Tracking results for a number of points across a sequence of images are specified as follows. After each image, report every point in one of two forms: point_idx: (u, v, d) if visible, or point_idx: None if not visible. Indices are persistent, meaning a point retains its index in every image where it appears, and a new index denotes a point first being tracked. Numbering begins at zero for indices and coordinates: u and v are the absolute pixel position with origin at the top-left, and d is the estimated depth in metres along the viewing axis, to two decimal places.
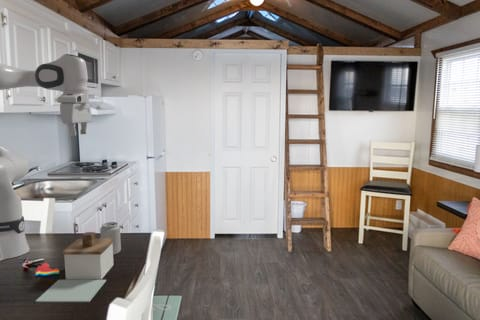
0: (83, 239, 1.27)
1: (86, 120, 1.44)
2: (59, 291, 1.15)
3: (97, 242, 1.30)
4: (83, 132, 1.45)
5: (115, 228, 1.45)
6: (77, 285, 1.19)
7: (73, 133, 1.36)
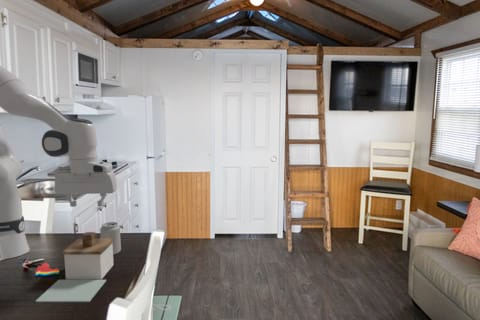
0: (83, 239, 1.27)
1: None
2: (59, 291, 1.15)
3: (97, 242, 1.30)
4: (75, 203, 1.27)
5: (115, 228, 1.45)
6: (77, 285, 1.19)
7: (103, 203, 1.27)
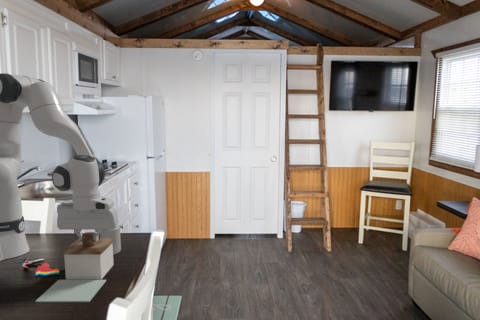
0: (83, 239, 1.27)
1: None
2: (59, 291, 1.15)
3: (97, 242, 1.30)
4: None
5: (115, 228, 1.45)
6: (77, 285, 1.19)
7: (97, 238, 1.29)
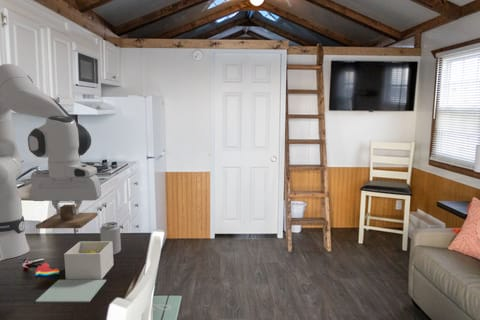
0: (61, 212, 1.11)
1: None
2: (59, 291, 1.15)
3: (78, 216, 1.15)
4: None
5: (115, 228, 1.45)
6: (77, 285, 1.19)
7: (78, 211, 1.13)
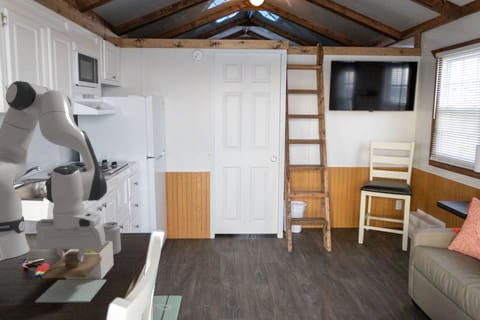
0: (66, 260, 1.13)
1: None
2: (59, 291, 1.15)
3: (82, 263, 1.17)
4: None
5: (115, 228, 1.45)
6: (77, 285, 1.19)
7: (82, 258, 1.15)
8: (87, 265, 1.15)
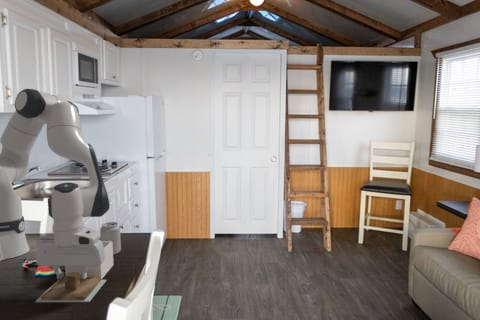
0: (66, 281, 1.14)
1: None
2: None
3: (82, 284, 1.18)
4: (63, 275, 1.16)
5: (115, 228, 1.45)
6: None
7: (86, 275, 1.16)
8: (87, 286, 1.16)
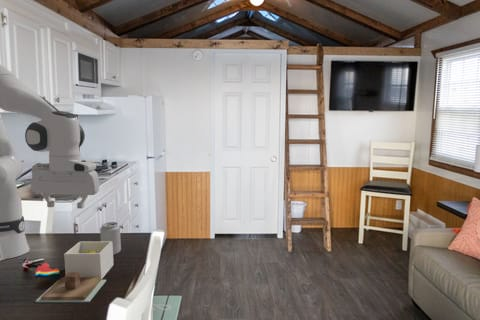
0: (66, 281, 1.14)
1: None
2: None
3: (82, 284, 1.18)
4: (53, 204, 1.16)
5: (115, 228, 1.45)
6: None
7: (83, 205, 1.16)
8: (87, 286, 1.16)
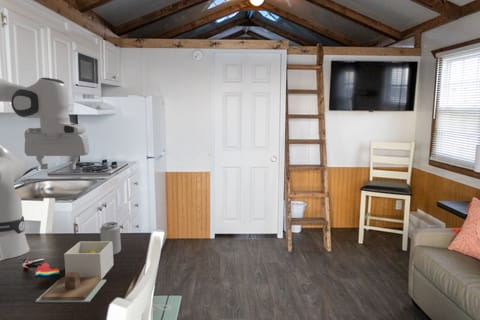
0: (66, 281, 1.14)
1: None
2: None
3: (82, 284, 1.18)
4: (46, 166, 1.23)
5: (115, 228, 1.45)
6: None
7: (74, 166, 1.23)
8: (87, 286, 1.16)
